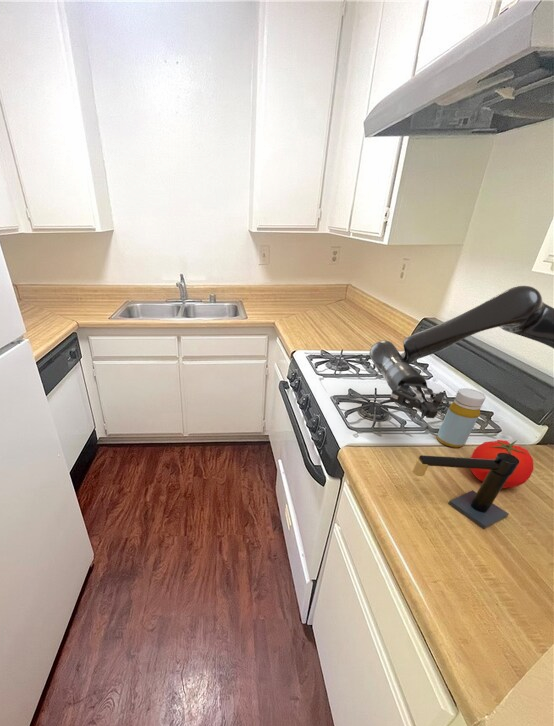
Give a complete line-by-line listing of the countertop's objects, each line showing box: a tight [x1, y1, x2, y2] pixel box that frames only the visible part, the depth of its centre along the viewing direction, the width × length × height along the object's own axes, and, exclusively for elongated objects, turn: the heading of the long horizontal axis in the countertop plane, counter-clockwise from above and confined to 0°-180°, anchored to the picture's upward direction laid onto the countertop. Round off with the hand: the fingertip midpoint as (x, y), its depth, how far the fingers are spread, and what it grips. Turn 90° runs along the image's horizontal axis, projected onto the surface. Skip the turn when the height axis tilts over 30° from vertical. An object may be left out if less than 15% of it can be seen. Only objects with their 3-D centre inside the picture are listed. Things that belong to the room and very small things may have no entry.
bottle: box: [436, 387, 487, 449], centre depth 93 cm, size 7×7×15 cm
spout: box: [412, 453, 519, 477], centre depth 68 cm, size 18×4×5 cm, turn 86°
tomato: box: [470, 439, 534, 489], centre depth 80 cm, size 12×12×10 cm
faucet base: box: [448, 470, 510, 530], centre depth 72 cm, size 8×8×11 cm
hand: (432, 414), depth 76 cm, fingers closed
